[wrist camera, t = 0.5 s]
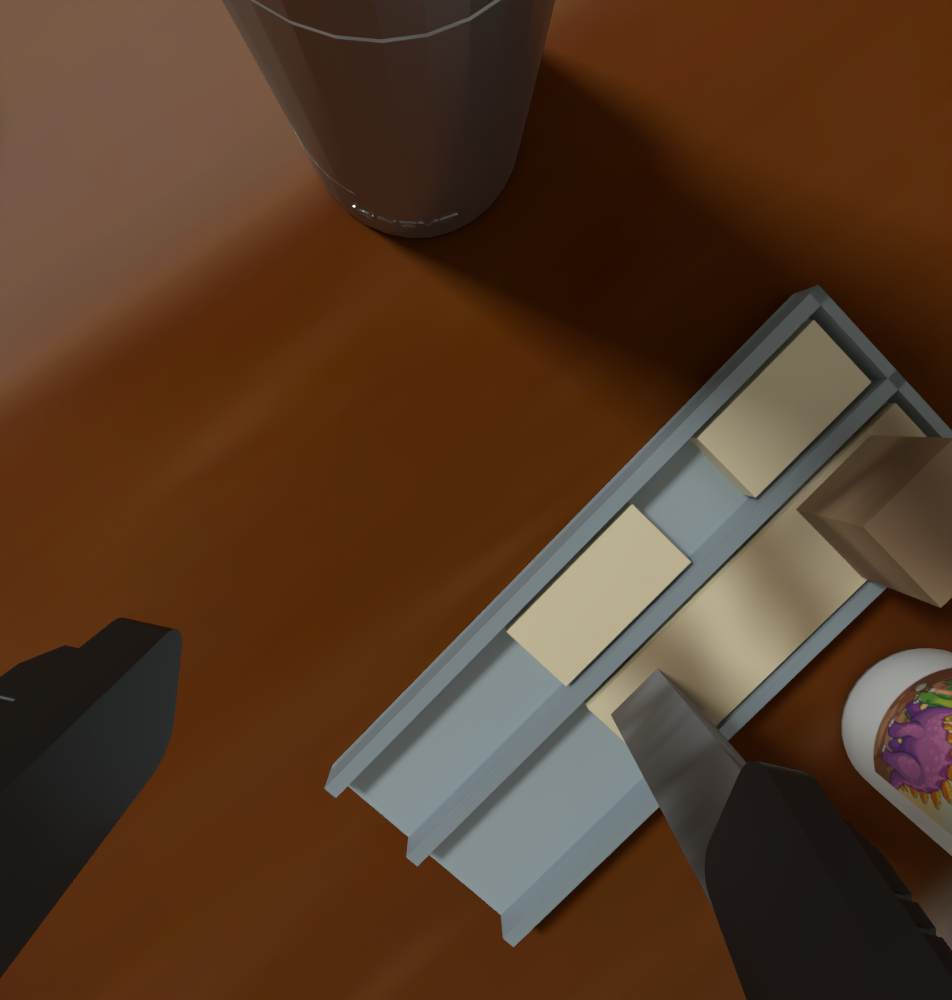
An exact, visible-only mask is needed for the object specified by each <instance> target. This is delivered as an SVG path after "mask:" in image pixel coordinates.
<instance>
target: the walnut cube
mask: <svg viewBox="0 0 952 1000" xmlns="http://www.w3.org/2000/svg"><path fill="white" fill-rule="evenodd" d="M796 510H797V511H798V512H799V513H800V514H801V515H802V516H803V517H804V518H805V519H806V520H807V521H808V522H809V523H810V524H811V525H812V526H813V528H814V529H815V530H816V531H817V532H818V533H819V534H820V535H821V536H822V537H823V538H824V539H825V540H826V541H827V542H828V543H829V544H830V545H831V546H832V547H833V548H834V549H835V550H836V551H837V552H838V553H839V554H840V555H841V556H842V557H843V558H844V559H845V560H846V561H847V562H848V563H849V564H850V565H851V567H852V568H853V569H854V570H855V571H856V572H857V573H858V574H859V575H860V576H861V577H862V578H865V579H867V580H870V581H872V582H875V583H878V584H880V585H883V586H885V587H888V588H891V589H893V590H896V591H898V592H901V593H904V594H906V595H909V596H911V597H914V598H917V599H919V600H922V601H924V602H927V603H930V604H932V605H935V606H937V607H940V608H941V607H942V606H943V605H944V604H946V603H947V602H948V601H949V600H950V599H951V598H952V438H936V437H907V436H878V435H871V436H870V437H869V438H868V439H867V440H866V441H865V442H864V443H863V444H862V445H861V446H860V447H859V448H858V449H857V450H856V451H854V452H853V453H852V454H851V455H850V456H849V457H848V458H847V459H846V460H845V461H844V462H843V463H842V464H841V465H840V466H839V467H838V468H837V469H836V470H835V471H834V472H833V473H832V474H831V475H830V476H829V477H828V478H827V479H826V480H825V481H824V482H823V483H822V484H821V485H820V486H819V487H818V488H817V489H816V490H815V491H814V492H813V493H812V494H811V495H810V496H809V497H808V498H807V499H806V500H805V501H804V502H803V503H802V504H801V505H800V506H799V507H798V508H797V509H796Z"/></svg>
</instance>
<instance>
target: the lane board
mask: <svg viewBox="0 0 952 1000" xmlns="http://www.w3.org/2000/svg"><path fill="white" fill-rule="evenodd" d="M884 403H896V404H897V405H898V406H899V407H900V408H901V409H902V410H903V411H904V412H905V413H906V414H907V416H908V417H909V418H910V419H911V420H912V421H913V422H914V423H915V424H916V425H917V426H918V428H919V429H920V430H921V431H922V432H923V433H924V434H925V435H926V436H927V437H936V438H952V430H951V429H950V428H949V427H948V426H947V425H946V424H945V423H944V422H943V420H942V419H941V418H940V417H939V416H938V415H937V414H936V413H935V412H934V411H933V409H932V408H931V407H930V406H929V405H928V404H927V403H926V402H925V401H924V400H923V399H922V397H921V396H920V395H919V394H918V393H917V392H916V391H915V390H914V389H913V388H912V386H911V385H910V384H909V383H908V382H907V381H906V380H905V379H904V378H903V377H902V376H901V374H900V373H899V372H898V371H897V370H896V369H895V368H894V367H893V366H892V365H891V363H890V362H889V361H888V360H887V359H886V358H885V357H884V356H883V355H882V354H881V353H880V351H879V350H878V349H877V348H876V347H875V346H874V345H873V344H872V343H871V342H870V340H869V339H868V338H867V337H866V336H865V335H864V334H863V333H862V332H861V331H860V330H859V328H858V327H857V326H856V325H855V324H854V323H853V322H852V321H851V320H850V319H849V317H848V316H847V315H846V314H845V313H844V312H843V311H842V310H841V309H840V308H839V307H838V305H837V304H836V303H835V302H834V301H833V300H832V299H831V298H830V297H829V296H828V294H827V293H826V292H825V291H824V290H823V289H822V288H821V287H820V286H819V285H816V286H813V287H811V288H808V289H805V290H803V291H800V292H797V293H795V294H792V295H791V296H790V297H789V298H788V299H787V301H786V302H785V303H784V304H783V305H782V306H781V307H780V308H779V309H778V310H777V311H776V312H775V313H774V314H773V315H772V316H771V317H770V318H769V319H768V320H767V321H766V322H765V323H764V324H763V325H762V326H761V327H760V328H759V329H758V330H757V331H756V332H755V333H754V334H753V335H752V336H751V337H750V338H749V339H748V340H747V341H746V342H745V343H744V344H743V345H742V347H741V348H740V349H739V350H738V351H737V352H736V353H735V354H734V355H733V356H732V357H731V358H730V359H729V360H728V361H727V362H726V363H725V364H724V365H723V366H722V367H721V368H720V369H719V370H718V371H717V372H716V373H715V374H714V375H713V376H712V377H711V378H710V379H709V380H708V381H707V382H706V383H705V384H704V385H703V386H702V387H701V388H700V389H699V390H698V392H697V393H696V394H695V395H694V396H693V397H692V398H691V399H690V400H689V401H688V402H687V403H686V404H685V405H684V406H683V407H682V408H681V409H680V410H679V411H678V412H677V413H676V414H675V415H674V416H673V417H672V418H671V419H670V420H669V421H668V422H667V423H666V424H665V425H664V426H663V427H662V428H661V429H660V430H659V431H658V432H657V433H656V434H655V435H654V437H653V438H652V439H651V440H650V441H649V442H648V443H647V444H646V445H645V446H644V447H643V448H642V449H641V450H640V451H639V452H638V453H637V454H636V455H635V456H634V457H633V458H632V459H631V460H630V461H629V462H628V463H627V464H626V465H625V466H624V467H623V468H622V469H621V470H620V471H619V472H618V473H617V474H616V475H615V476H614V477H613V478H612V479H611V480H610V481H609V483H608V484H607V485H606V486H605V487H604V488H603V489H602V490H601V491H600V492H599V493H598V494H597V495H596V496H595V497H594V498H593V499H592V500H591V501H590V502H589V503H588V504H587V505H586V506H585V507H584V508H583V509H582V510H581V511H580V512H579V513H578V514H577V515H576V516H575V517H574V518H573V519H572V520H571V521H570V522H569V523H568V524H567V525H566V526H565V528H564V529H563V530H562V531H561V532H560V533H559V534H558V535H557V536H556V537H555V538H554V539H553V540H552V541H551V542H550V543H549V544H548V545H547V546H546V547H545V548H544V549H543V550H542V551H541V552H540V553H539V554H538V555H537V556H536V557H535V558H534V559H533V560H532V561H531V562H530V563H529V564H528V565H527V566H526V567H525V568H524V569H523V570H522V571H521V573H520V574H519V575H518V576H517V577H516V578H515V579H514V580H513V581H512V582H511V583H510V584H509V585H508V586H507V587H506V588H505V589H504V590H503V591H502V592H501V593H500V594H499V595H498V596H497V597H496V598H495V599H494V600H493V601H492V602H491V603H490V604H489V605H488V606H487V607H486V608H485V609H484V610H483V611H482V612H481V613H480V614H479V615H478V616H477V618H476V619H475V620H474V621H473V622H472V623H471V624H470V625H469V626H468V627H467V628H466V629H465V630H464V631H463V632H462V633H461V634H460V635H459V636H458V637H457V638H456V639H455V640H454V641H453V642H452V643H451V644H450V645H449V646H448V647H447V648H446V649H445V650H444V651H443V652H442V653H441V654H440V655H439V656H438V657H437V658H436V659H435V660H434V661H433V662H432V664H431V665H430V666H429V667H428V668H427V669H426V670H425V671H424V672H423V673H422V674H421V675H420V676H419V677H418V678H417V679H416V680H415V681H414V682H413V683H412V684H411V685H410V686H409V687H408V688H407V689H406V690H405V691H404V692H403V693H402V694H401V695H400V696H399V697H398V698H397V699H396V700H395V701H394V702H393V703H392V704H391V705H390V706H389V707H388V709H387V710H386V711H385V712H384V713H383V714H382V715H381V716H380V717H379V718H378V719H377V720H376V721H375V722H374V723H373V724H372V725H371V726H370V727H369V728H368V729H367V730H366V731H365V732H364V733H363V734H362V735H361V736H360V737H359V738H358V739H357V740H356V741H355V742H354V743H353V744H352V745H351V746H350V747H349V748H348V749H347V750H346V751H345V752H344V754H343V755H342V756H341V757H340V758H339V759H338V760H337V761H336V762H335V763H334V764H333V766H332V768H331V771H330V774H329V777H328V780H327V782H326V785H325V788H324V789H326V790H327V791H328V792H329V793H330V794H331V795H333V796H334V797H335V798H336V797H337V796H338V795H339V794H340V793H341V792H342V791H343V790H344V789H345V788H346V787H347V786H349V787H350V788H351V789H352V790H353V791H355V792H356V793H357V794H358V795H359V796H360V797H362V798H363V799H364V800H365V801H366V802H368V803H369V804H370V805H371V806H372V807H373V808H375V809H376V810H377V811H378V812H379V813H381V814H382V815H383V816H384V817H385V818H386V819H388V820H389V821H390V822H391V823H392V824H394V825H395V826H396V827H397V828H398V829H399V830H401V831H402V832H403V833H404V834H405V835H407V836H408V846H407V855H406V857H407V858H408V859H409V860H410V861H411V862H413V863H414V864H415V865H416V866H418V865H419V864H420V863H421V862H422V861H423V860H424V859H425V858H426V857H427V856H428V855H430V856H431V857H433V858H434V859H435V860H436V861H437V862H439V863H440V864H441V865H442V866H443V867H444V868H446V869H447V870H448V871H449V872H450V873H452V874H453V875H454V876H455V877H456V878H457V879H459V880H460V881H461V882H462V883H463V884H465V885H466V886H467V887H468V888H469V889H471V890H472V891H473V892H474V893H475V894H476V895H478V896H479V897H480V898H481V899H482V900H484V901H485V902H486V903H487V904H488V905H489V906H491V907H492V908H493V909H494V910H495V911H497V912H498V913H499V914H500V915H501V922H502V933H503V939H504V940H505V941H507V942H508V943H509V944H510V945H511V946H513V947H514V946H515V945H516V944H517V943H518V942H519V941H521V940H522V939H523V938H524V937H525V936H526V935H527V934H528V933H529V932H530V931H531V930H532V929H533V928H534V927H535V926H536V925H537V924H538V923H539V922H540V921H541V920H542V919H543V918H544V917H545V916H546V915H548V914H549V913H550V912H551V911H552V910H553V909H554V908H555V907H556V906H557V905H558V904H559V903H560V902H561V901H562V900H563V899H564V898H565V897H566V896H567V895H568V894H569V893H570V892H571V891H572V890H573V889H575V888H576V887H577V886H578V885H579V884H580V883H581V882H582V881H583V880H584V879H585V878H586V877H587V876H588V875H589V874H590V873H591V872H592V871H593V870H594V869H595V868H596V867H597V866H598V865H599V864H600V863H601V862H603V861H604V860H605V859H606V858H607V857H608V856H609V855H610V854H611V853H612V852H613V851H614V850H615V849H616V848H617V847H618V846H619V845H620V844H621V843H622V842H623V841H624V840H625V839H626V838H627V837H628V836H630V835H631V834H632V833H633V832H634V831H635V830H636V829H637V828H638V827H639V826H640V825H641V824H642V823H643V822H644V821H645V820H646V819H647V818H648V817H649V816H650V815H651V814H652V813H653V812H654V811H655V810H657V809H658V808H659V805H658V803H657V801H656V799H655V797H654V796H653V794H652V792H651V790H650V788H649V786H648V784H647V782H646V780H645V779H644V777H643V775H642V773H641V771H640V769H639V767H638V765H637V763H636V762H635V760H634V758H633V756H632V754H631V752H630V750H629V748H628V746H627V745H626V743H625V742H624V741H623V740H622V739H621V738H620V737H618V736H617V735H616V734H615V733H614V732H613V731H612V730H611V729H610V728H609V727H608V726H607V725H605V724H604V723H603V722H602V721H601V720H600V719H599V718H598V717H597V716H596V715H595V714H593V713H592V712H591V711H590V710H589V709H588V708H587V706H586V704H585V702H584V701H585V700H586V699H587V698H588V697H589V696H590V695H591V694H592V693H593V692H594V691H595V690H596V689H597V688H598V687H599V686H600V685H601V684H602V683H603V682H604V681H605V680H606V679H607V678H608V677H609V676H610V675H611V674H612V673H613V672H614V671H615V670H616V669H617V668H618V667H619V666H620V665H621V664H622V663H623V662H624V661H625V660H626V659H627V658H628V657H629V656H630V655H631V654H632V653H633V652H634V651H635V650H636V649H637V648H638V647H639V646H640V645H641V644H642V643H643V642H644V641H645V640H646V639H647V638H648V637H649V636H650V635H651V634H652V633H653V632H654V631H655V630H656V629H657V628H658V627H659V626H660V625H661V624H662V623H663V622H664V621H665V620H666V619H667V618H668V617H669V616H670V615H671V614H672V613H673V612H674V611H675V610H676V609H677V608H678V607H679V606H680V605H681V604H682V603H683V602H684V601H685V600H686V599H687V598H689V597H690V596H691V595H692V594H693V593H694V592H695V591H696V590H697V589H698V588H699V587H700V586H701V585H702V584H703V583H704V582H705V581H706V580H707V579H708V578H709V577H710V576H711V575H712V574H713V573H714V572H715V571H716V570H717V569H718V568H719V567H720V566H721V565H722V564H723V563H724V562H725V561H726V560H727V559H728V558H729V557H730V556H731V555H732V554H733V553H734V552H735V551H736V550H737V549H738V548H739V547H740V546H741V545H742V544H743V543H744V542H745V541H746V540H747V539H748V538H749V537H750V536H751V535H752V534H753V533H754V532H755V531H756V530H757V529H758V528H759V527H760V526H761V525H762V524H763V523H764V522H765V521H766V520H767V519H768V518H769V517H770V516H771V515H772V514H773V513H774V512H775V511H776V510H777V509H778V508H779V507H780V506H781V505H782V504H783V503H784V502H785V501H786V500H787V499H788V498H789V497H790V496H791V495H792V494H793V493H794V492H795V491H796V490H797V489H798V488H799V487H800V486H801V485H802V484H803V483H804V482H805V481H806V480H807V479H809V478H810V477H811V476H812V475H813V474H814V473H815V472H816V471H817V470H818V469H819V468H820V467H821V466H822V465H823V464H824V463H825V462H826V461H827V460H828V459H829V458H830V457H831V456H832V455H833V454H834V453H835V452H836V451H837V450H838V449H839V448H840V447H841V446H842V445H843V444H844V443H845V442H846V441H847V440H848V439H849V438H850V437H851V436H852V435H853V434H854V433H855V432H856V431H857V430H858V429H859V428H860V427H861V426H862V425H863V424H864V423H865V422H866V421H867V420H868V419H869V418H870V417H871V416H872V415H873V414H874V413H875V412H876V411H877V410H878V409H879V408H880V407H881V406H882V405H883V404H884ZM886 588H887V587H885V586H883V585H880V584H878V583H875V582H872V581H870V580H867V581H866V582H865V583H864V584H863V585H861V586H860V587H859V588H858V589H857V590H856V591H855V592H854V593H853V594H852V595H851V596H850V597H849V598H848V599H847V600H846V601H845V602H844V603H843V604H842V605H841V606H840V607H839V608H838V609H837V610H836V611H835V612H834V613H833V614H832V615H830V616H829V617H828V618H827V619H826V620H825V621H824V622H823V623H822V624H821V625H820V626H819V627H818V628H817V629H816V630H815V631H814V632H813V633H812V634H811V635H810V636H809V637H808V638H807V639H806V640H805V641H804V642H803V643H802V644H800V645H799V646H798V647H797V648H796V649H795V650H794V651H793V652H792V653H791V654H790V655H789V656H788V657H787V658H786V659H785V660H784V661H783V662H782V663H781V664H780V665H779V666H778V667H777V668H776V669H775V670H774V671H773V672H772V673H771V674H769V675H768V676H767V677H766V678H765V679H764V680H763V681H762V682H761V683H760V684H759V685H758V686H757V687H756V688H755V689H754V690H753V691H752V692H751V693H750V694H749V695H748V696H747V697H746V698H745V699H744V700H743V701H742V702H741V703H740V704H738V705H737V706H736V707H735V708H734V709H733V710H732V711H731V712H730V713H729V714H728V715H727V716H726V717H725V718H724V719H723V720H722V721H721V722H720V723H719V724H718V725H717V726H716V728H717V729H718V730H719V731H720V732H721V733H722V735H723V736H724V737H725V738H726V739H727V740H729V739H730V738H731V737H732V736H733V735H734V734H735V733H736V732H737V731H739V730H740V729H741V728H742V727H743V726H744V725H745V724H746V723H747V722H748V721H749V720H750V719H751V718H752V717H753V716H754V715H755V714H756V713H757V712H758V711H759V710H760V709H761V708H762V707H763V706H764V705H766V704H767V703H768V702H769V701H770V700H771V699H772V698H773V697H774V696H775V695H776V694H777V693H778V692H779V691H780V690H781V689H782V688H783V687H784V686H785V685H786V684H787V683H788V682H789V681H790V680H791V679H793V678H794V677H795V676H796V675H797V674H798V673H799V672H800V671H801V670H802V669H803V668H804V667H805V666H806V665H807V664H808V663H809V662H810V661H811V660H812V659H813V658H814V657H815V656H816V655H817V654H818V653H820V652H821V651H822V650H823V649H824V648H825V647H826V646H827V645H828V644H829V643H830V642H831V641H832V640H833V639H834V638H835V637H836V636H837V635H838V634H839V633H840V632H841V631H842V630H843V629H844V628H845V627H847V626H848V625H849V624H850V623H851V622H852V621H853V620H854V619H855V618H856V617H857V616H858V615H859V614H860V613H861V612H862V611H863V610H864V609H865V608H866V607H867V606H868V605H869V604H870V603H871V602H872V601H874V600H875V599H876V598H877V597H878V596H879V595H880V594H881V593H882V592H883V591H884V590H885V589H886Z"/></svg>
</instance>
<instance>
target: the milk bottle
mask: <svg viewBox="0 0 952 1000" xmlns="http://www.w3.org/2000/svg"><path fill="white" fill-rule="evenodd" d="M841 735H842V738H843V742H844V747H845V750H846V752H847V755H848V757H849V759H850V761H851V763H852V765H853V766H854V768H855V769H856V770H857V772H858V773H859V774H860V775H861V776H862V777H863V778H864V779H865V780H866V781H867V782H868V783H870V784H871V785H872V786H873V787H874V788H875V789H876V790H877V791H878V792H879V793H880V794H882V795H883V796H884V797H885V798H886V799H887V800H888V801H890V802H891V803H892V804H893V805H894V806H895V807H896V808H897V809H899V810H900V811H901V812H902V813H903V814H904V815H905V816H907V817H908V818H909V819H910V820H911V821H912V822H913V823H915V824H916V825H917V826H918V827H919V828H920V829H921V830H923V831H924V832H925V833H926V834H927V835H928V836H929V837H931V838H932V839H933V840H934V841H935V842H936V843H937V844H939V845H940V846H941V847H942V848H943V849H944V850H945V851H947V852H948V853H949V854H950V855H951V856H952V652H949V651H945V650H940V649H932V648H919V649H911V650H903V651H900V652H898V653H894V654H891V655H889V656H887V657H885V658H883V659H881V660H879V661H877V662H876V663H875V664H874V665H872V666H871V667H870V668H868V669H867V670H866V671H865V672H864V673H863V674H862V675H861V676H860V678H859V679H858V680H857V681H856V682H855V684H854V685H853V687H852V689H851V690H850V692H849V693H848V696H847V699H846V701H845V704H844V706H843V712H842V717H841Z"/></svg>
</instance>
